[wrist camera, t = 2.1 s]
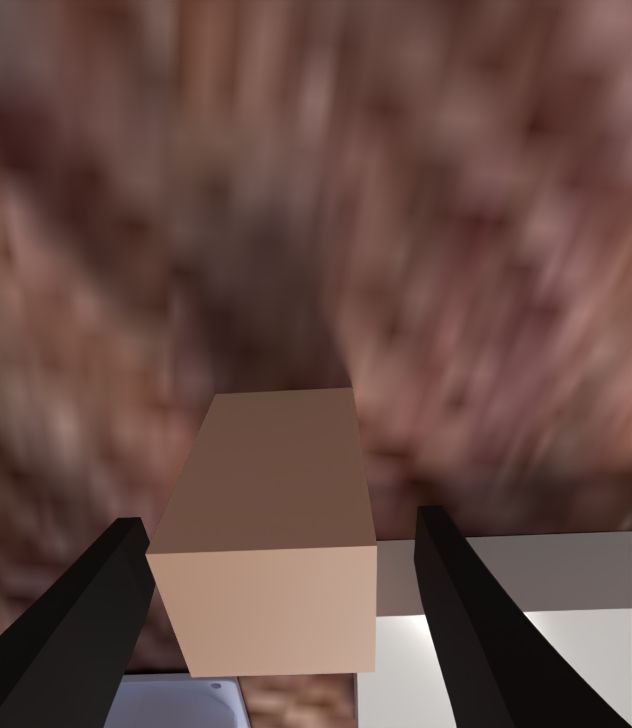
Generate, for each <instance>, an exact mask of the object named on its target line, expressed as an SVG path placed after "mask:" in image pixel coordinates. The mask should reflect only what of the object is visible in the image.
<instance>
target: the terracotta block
mask: <svg viewBox="0 0 632 728" xmlns="http://www.w3.org/2000/svg"><path fill="white" fill-rule="evenodd" d="M145 555H146V558H147V560H148V563H149V566H150V568H151V571H152V574H153V576H154V579H155V582H156V584H157V587H158V590H159V592H160V595H161V597H162V600H163V603H164V605H165V608H166V611H167V613H168V616H169V619H170V621H171V624H172V627H173V629H174V632H175V635H176V637H177V640H178V642H179V645H180V648H181V650H182V653H183V656H184V658H185V661H186V664H187V666H188V669H189V672H190V674H191V677H222V676H258V675H294V674H329V673H365V672H375V648H376V584H377V542H376V535H375V529H374V523H373V516H372V510H371V503H370V497H369V490H368V484H367V477H366V471H365V464H364V458H363V451H362V445H361V439H360V432H359V426H358V419H357V413H356V406H355V400H354V393H353V387H350V388H330V389H310V390H290V391H270V392H250V393H230V394H215V396H214V398H213V401H212V403H211V405H210V407H209V410H208V412H207V414H206V417H205V419H204V421H203V423H202V426H201V428H200V430H199V433H198V435H197V437H196V439H195V442H194V444H193V446H192V449H191V451H190V453H189V455H188V458H187V460H186V462H185V465H184V467H183V469H182V471H181V474H180V476H179V478H178V481H177V483H176V485H175V488H174V490H173V492H172V494H171V497H170V499H169V501H168V504H167V506H166V508H165V510H164V513H163V515H162V517H161V520H160V522H159V524H158V526H157V529H156V531H155V533H154V536H153V538H152V540H151V542H150V545H149V547H148V549H147V552H146V554H145Z"/></svg>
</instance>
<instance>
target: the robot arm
mask: <svg viewBox="0 0 632 728" xmlns="http://www.w3.org/2000/svg"><path fill="white" fill-rule="evenodd" d="M149 545H150V541H149V539H148V536H147V533H146V531H145V528H144V525H143V522H142V520H141V517H131V518H117V519H116V520H115V521H114V522H113V523H112V524H111V525H110V526H109V527H108V528H107V529H106V530H105V531H104V533H103V534H102V535H101V536H100V537H99V538H98V539H97V540H96V541H95V542H94V543H93V544H92V545H91V546H90V547H89V548H88V549H87V550H86V551H85V552H84V553H83V554H82V555H81V556H80V557H79V558H78V559H77V560H76V562H75V563H74V564H73V565H72V566H71V567H70V568H69V569H68V570H67V571H66V572H65V573H64V574H63V575H62V576H61V577H60V578H59V579H58V580H57V581H56V582H55V583H54V584H53V585H52V586H51V587H50V588H49V589H48V590H47V591H46V592H45V593H44V594H43V595H42V596H41V597H40V598H39V599H38V600H37V601H36V602H35V603H34V604H33V605H32V606H31V607H30V608H29V609H28V610H26V611H25V612H24V613H23V614H22V615H21V616H20V617H19V618H18V619H17V620H16V621H15V622H14V623H13V624H12V625H11V626H10V627H9V628H8V629H6V630H5V631H4V632H3V633H2V634H1V635H0V728H251V726H250V722H249V719H248V715H247V712H246V708H245V705H244V701H243V697H242V694H241V690H240V687H239V683H238V680H237V677H236V676H222V677H191V674H190V673H174V674H140V675H124V673H125V670H126V667H127V665H128V662H129V660H130V657H131V655H132V652H133V649H134V647H135V644H136V642H137V639H138V636H139V634H140V631H141V629H142V626H143V623H144V621H145V618H146V615H147V613H148V610H149V606H150V603H151V599H152V595H153V592H154V588H155V584H156V582H155V579H154V576H153V574H152V571H151V568H150V566H149V563H148V560H147V558H146V555H145V554H146V552H147V549H148V547H149ZM414 565H415V570H416V576H417V582H418V587H419V592H420V597H421V602H422V606H423V610H424V613H425V617H426V620H427V624H428V627H429V631H430V634H431V638H432V641H433V645H434V648H435V652H436V655H437V659H438V662H439V666H440V669H441V672H442V676H443V679H444V683H445V686H446V690H447V693H448V697H449V700H450V704H451V707H452V711H453V715H454V719H455V723H456V727H457V728H632V726H631V725H630V724H629V723H628V722H627V721H626V720H625V719H624V718H622V717H621V716H620V715H619V714H618V713H617V712H616V711H615V710H614V709H613V708H612V707H611V706H610V705H609V704H608V703H607V702H606V701H605V700H604V699H603V698H602V697H601V696H600V695H599V694H598V693H597V692H596V691H595V690H594V689H593V688H592V687H591V686H590V685H589V684H588V683H587V682H586V681H585V680H584V679H583V678H582V677H581V676H580V675H579V674H578V673H577V672H576V670H575V669H574V668H573V667H572V666H571V665H570V664H569V663H568V662H567V661H566V660H565V659H564V658H563V657H562V656H561V655H560V654H559V653H558V651H557V650H556V649H555V648H554V647H553V646H552V645H551V644H550V643H549V642H548V640H547V639H546V638H545V637H544V636H543V635H542V634H541V633H540V631H539V630H538V629H537V628H536V627H535V626H534V625H533V623H532V622H531V621H530V620H529V619H528V618H527V616H526V615H525V614H524V613H523V612H522V610H521V609H520V608H519V607H518V606H517V605H516V603H515V602H514V601H513V600H512V598H511V597H510V596H509V595H508V594H507V592H506V591H505V590H504V589H503V587H502V586H501V585H500V583H499V582H498V581H497V580H496V578H495V577H494V576H493V575H492V573H491V572H490V571H489V569H488V568H487V567H486V566H485V564H484V563H483V562H482V560H481V559H480V558H479V556H478V555H477V553H476V552H475V551H474V549H473V548H472V547H471V545H470V544H469V542H468V541H467V540H466V538H465V537H464V535H463V534H462V532H461V531H460V529H459V528H458V527H457V525H456V524H455V522H454V521H453V519H452V518H451V516H450V514H449V513H448V511H447V510H446V508H444V507H443V506H442V505H440V506H418V511H417V523H416V535H415V548H414Z"/></svg>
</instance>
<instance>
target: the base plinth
mask: <svg viewBox="0 0 632 728" xmlns="http://www.w3.org/2000/svg"><path fill="white" fill-rule="evenodd" d="M466 540H467V541H468V542H469V544H470V545H471V547H472V548H473V549H474V551H475V552H476V553H477V555H478V556H479V558H480V559H481V560H482V562H483V563H484V564H485V566H486V567H487V568H488V569H489V571H490V572H491V573H492V575H493V576H494V577H495V578H496V580H497V581H498V582H499V583H500V585H501V586H502V587H503V589H504V590H505V591H506V592H507V594H508V595H509V596H510V597H511V598H512V600H513V601H514V602H515V603H516V605H517V606H518V607H519V608H520V609H521V610H522V612H523V613H524V614H525V615H526V616H527V618H528V619H529V620H530V621H531V622H532V623H533V625H534V626H535V627H536V628H537V629H538V630H539V631H540V633H541V634H542V635H543V636H544V637H545V638H546V639H547V640H548V642H549V643H550V644H551V645H552V646H553V647H554V648H555V649H556V650H557V651H558V653H559V654H560V655H561V656H562V657H563V658H564V659H565V660H566V661H567V662H568V663H569V664H570V665H571V666H572V667H573V668H574V669H575V670H576V672H577V673H578V674H579V675H580V676H581V677H582V678H583V679H584V680H585V681H586V682H587V683H588V684H589V685H590V686H591V687H592V688H593V689H594V690H595V691H596V692H597V693H598V694H599V695H600V696H601V697H602V698H603V699H604V700H605V701H606V702H607V703H608V704H609V705H610V706H611V707H612V708H613V709H614V710H615V711H616V712H617V713H618V714H619V715H620V716H621V717H622V718H624V719H625V720H626V721H627V722H628V723H629V724H630V725H631V726H632V531H625V532H599V533H573V534H547V535H521V536H495V537H469V538H466ZM376 542H377V584H376V648H375V672H365V673H354V704H355V728H457V727H456V723H455V719H454V715H453V711H452V707H451V704H450V700H449V697H448V693H447V690H446V686H445V683H444V679H443V676H442V672H441V669H440V666H439V662H438V659H437V655H436V652H435V648H434V645H433V641H432V638H431V634H430V631H429V627H428V624H427V620H426V617H425V613H424V610H423V606H422V602H421V597H420V592H419V587H418V582H417V576H416V570H415V565H414V548H415V540H391V541H376Z"/></svg>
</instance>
